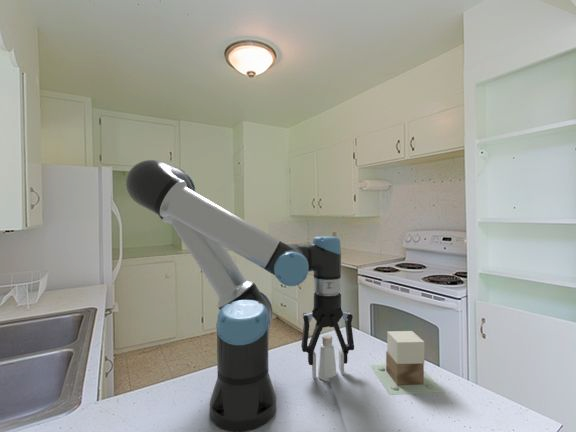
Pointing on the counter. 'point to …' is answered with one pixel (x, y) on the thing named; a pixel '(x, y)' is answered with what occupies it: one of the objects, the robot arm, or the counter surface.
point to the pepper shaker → (327, 359)
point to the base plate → (393, 389)
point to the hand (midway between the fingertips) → (327, 375)
